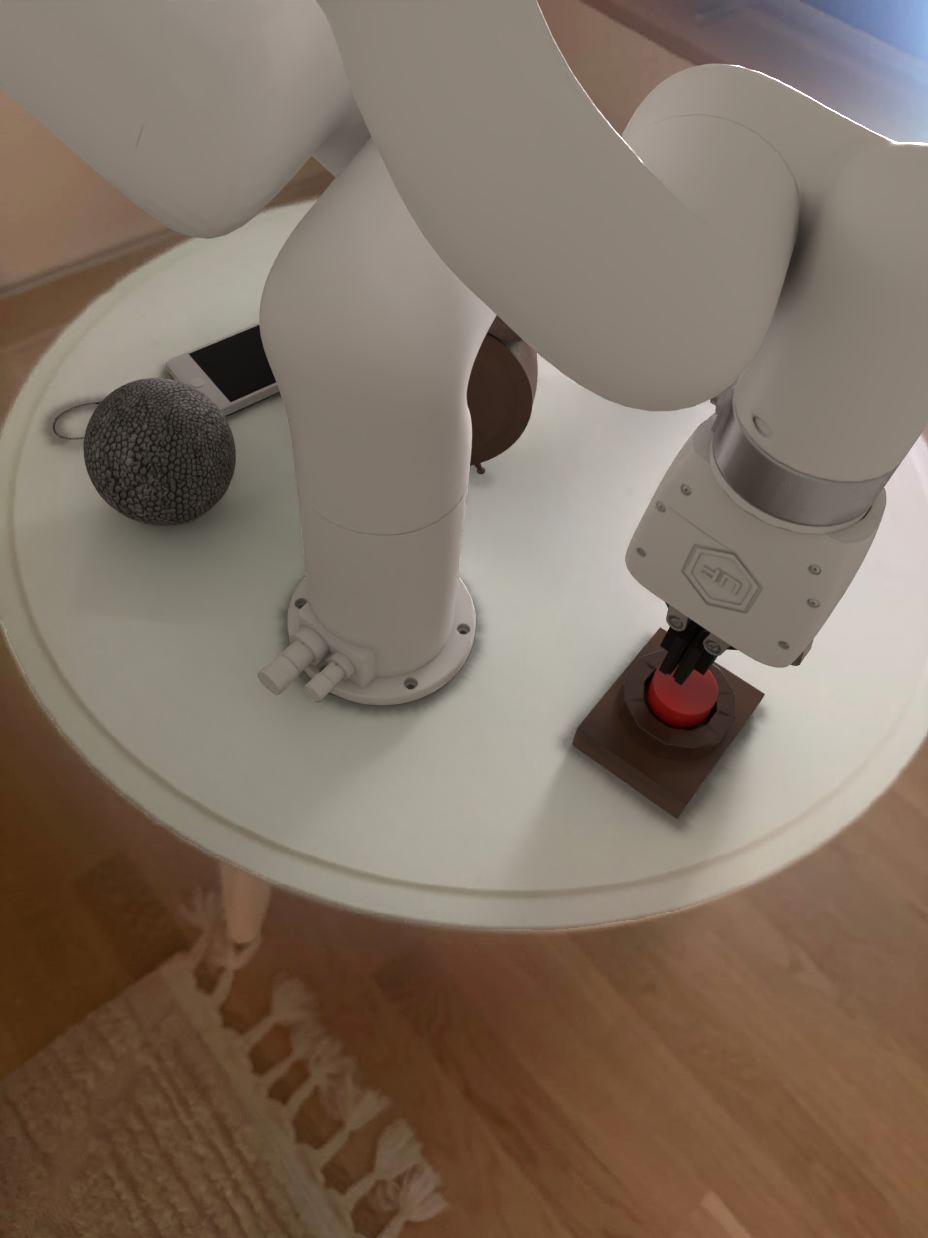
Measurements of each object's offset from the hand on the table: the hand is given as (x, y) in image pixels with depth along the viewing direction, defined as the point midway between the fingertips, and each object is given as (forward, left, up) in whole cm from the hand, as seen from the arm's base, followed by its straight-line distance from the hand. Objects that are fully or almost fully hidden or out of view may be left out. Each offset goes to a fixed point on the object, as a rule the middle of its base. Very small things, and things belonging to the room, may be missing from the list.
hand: (682, 661), depth 58 cm
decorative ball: (-7, +37, -8) cm, 38 cm away
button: (0, -1, -4) cm, 4 cm away
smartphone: (+8, +42, -8) cm, 44 cm away
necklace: (-6, +47, -8) cm, 48 cm away
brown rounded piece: (+9, +26, -8) cm, 29 cm away
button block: (0, -1, -8) cm, 8 cm away
